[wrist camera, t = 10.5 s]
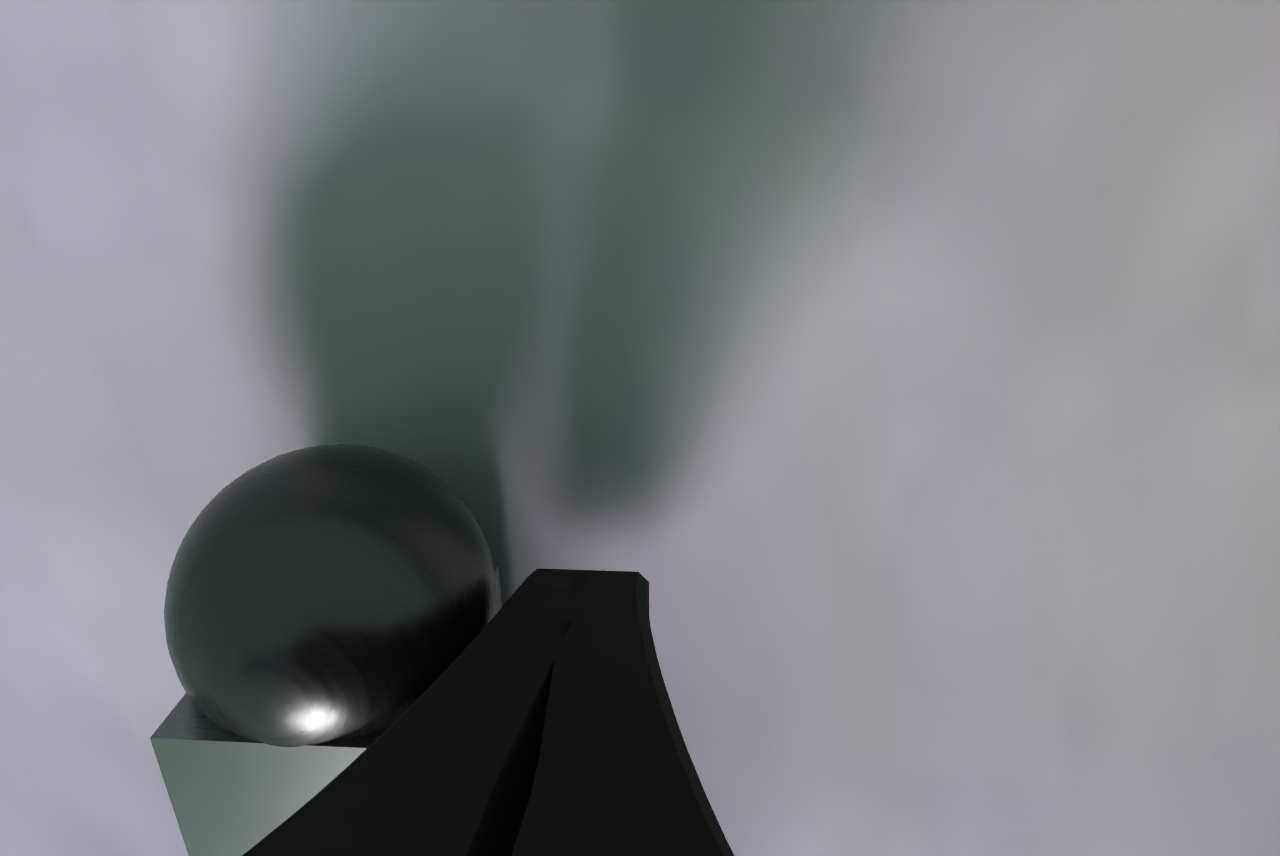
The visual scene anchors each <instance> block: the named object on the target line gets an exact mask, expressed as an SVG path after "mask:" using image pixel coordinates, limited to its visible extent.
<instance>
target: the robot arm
mask: <svg viewBox="0 0 1280 856" xmlns="http://www.w3.org/2000/svg"><path fill="white" fill-rule="evenodd" d="M242 856H734V854H733V852H732V850H731V848H730V846H729V844H728V842H727V840H726V838H725V836H724V834H723V832H722V830H721V827H720V825H719V823H718V821H717V819H716V817H715V814H714V812H713V810H712V808H711V805H710V803H709V801H708V799H707V796H706V794H705V792H704V789H703V787H702V784H701V782H700V780H699V777H698V775H697V772H696V770H695V768H694V765H693V763H692V760H691V758H690V755H689V753H688V750H687V748H686V745H685V742H684V740H683V737H682V734H681V732H680V729H679V726H678V724H677V721H676V717H675V714H674V711H673V708H672V705H671V702H670V699H669V696H668V693H667V690H666V687H665V684H664V680H663V677H662V674H661V670H660V667H659V663H658V659H657V655H656V651H655V646H654V642H653V637H652V633H651V627H650V621H649V582H648V581H647V580H646V579H645V578H644V577H643V576H642V575H641V574H640V573H639V572H623V571H593V570H562V569H536V570H535V571H534V572H533V573H532V574H531V575H530V576H529V577H527V579H526V580H525V581H524V582H523V583H522V584H521V586H520V587H519V588H518V589H517V590H516V591H515V593H514V594H513V595H512V596H511V597H510V598H509V600H508V601H507V602H506V603H505V604H504V606H503V607H502V608H501V609H500V610H499V611H498V613H497V614H496V615H495V616H494V617H493V618H492V619H491V621H490V622H489V623H488V624H487V625H486V626H485V627H484V629H483V630H482V631H481V632H480V633H479V634H478V635H477V636H476V638H475V639H474V640H473V641H472V642H471V643H470V644H469V645H468V647H467V648H466V649H465V650H464V651H463V652H462V653H461V654H460V655H459V656H458V657H457V658H456V659H455V660H454V661H453V663H452V664H451V665H450V666H449V667H448V668H447V669H446V670H445V671H444V672H443V673H442V674H441V675H440V676H439V677H438V678H437V680H436V681H435V682H434V683H433V684H432V685H431V686H430V687H429V688H428V689H427V690H426V691H425V692H424V693H423V694H422V695H421V696H420V697H419V698H418V699H417V700H416V701H415V703H414V704H413V705H412V706H411V707H410V708H409V709H408V710H407V711H405V712H404V713H403V714H402V715H401V716H400V717H399V718H398V719H397V720H396V721H395V722H394V723H393V724H392V725H391V726H390V727H389V728H388V729H387V730H386V731H385V732H383V733H382V734H381V735H380V736H379V737H378V738H377V739H376V740H375V741H374V742H373V743H372V744H371V745H370V746H369V747H368V748H367V749H366V750H365V751H364V752H362V753H361V754H360V755H359V756H358V757H357V758H356V759H355V760H354V761H353V762H352V763H351V764H350V765H349V766H348V767H347V768H346V769H344V770H343V771H342V772H341V773H340V774H339V775H338V776H337V777H335V778H334V779H333V780H332V781H331V782H330V783H329V784H328V785H326V786H325V787H324V788H323V789H322V790H321V791H320V792H318V793H317V794H316V795H315V796H314V797H313V798H312V799H310V800H309V801H308V802H307V803H306V804H305V805H303V806H302V807H301V808H300V809H299V810H297V811H296V812H295V813H294V814H293V815H292V816H290V817H289V818H288V819H287V820H285V821H284V822H283V823H282V824H281V825H279V826H278V827H277V828H276V829H274V830H273V831H272V832H271V833H269V834H268V835H267V836H266V837H265V838H263V839H262V840H261V841H260V842H258V843H257V844H256V845H255V846H254V847H252V848H251V849H250V850H249V851H247V852H246V853H245V854H244V855H242Z"/></svg>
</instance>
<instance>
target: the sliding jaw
mask: <svg viewBox="0 0 1280 856" xmlns="http://www.w3.org/2000/svg"><path fill="white" fill-rule="evenodd" d="M501 608H502V600H501V590H500V580H499V570H498V565H493V563H492V557H491V553H490V550H489V547H488V544H487V541H486V538H485V536H484V534H483V532H482V530H481V528H480V526H479V524H478V522H477V520H476V518H475V516H474V515H473V513H472V512H471V510H470V509H469V507H468V506H467V504H466V503H465V502H464V501H463V500H462V498H461V497H460V496H459V495H458V494H457V493H456V492H455V491H454V490H453V489H452V488H451V487H450V486H449V485H448V484H447V483H446V482H445V481H444V480H442V479H441V478H440V477H438V476H437V475H436V474H434V473H433V472H432V471H430V470H428V469H427V468H425V467H423V466H422V465H420V464H418V463H416V462H415V461H412V460H410V459H408V458H406V457H403V456H401V455H399V454H396V453H392V452H389V451H386V450H383V449H378V448H373V447H368V446H359V445H343V444H339V445H321V446H315V447H309V448H304V449H300V450H296V451H292V452H289V453H286V454H283V455H279V456H277V457H275V458H273V459H271V460H268V461H266V462H264V463H262V464H260V465H258V466H256V467H254V468H252V469H250V470H248V471H247V472H246V473H244V474H243V475H241V476H240V477H238V478H237V479H235V480H234V481H233V482H231V483H230V484H229V485H228V486H226V487H225V488H224V489H223V490H222V491H221V492H220V493H218V494H217V495H216V496H215V497H214V498H213V499H212V500H211V501H210V503H209V504H208V505H207V506H206V507H205V508H204V509H203V510H202V511H201V513H200V514H199V516H198V517H197V518H196V520H195V521H194V523H193V524H192V525H191V527H190V529H189V530H188V532H187V534H186V535H185V537H184V539H183V541H182V543H181V545H180V547H179V549H178V551H177V554H176V556H175V559H174V562H173V565H172V568H171V572H170V575H169V579H168V582H167V590H166V598H165V608H164V618H165V631H166V640H167V645H168V649H169V654H170V657H171V659H172V662H173V665H174V667H175V670H176V673H177V675H178V678H179V680H180V682H181V684H182V686H183V687H184V689H185V691H186V694H185V695H184V696H183V698H182V699H181V700H180V701H179V703H178V704H177V705H176V706H175V708H174V709H173V710H172V711H171V713H170V714H169V715H168V716H167V718H166V719H165V720H164V721H163V723H162V724H161V725H160V726H159V727H158V729H157V730H156V731H155V732H154V734H153V735H152V736H151V737H150V739H151V742H152V745H153V748H154V751H155V754H156V757H157V760H158V763H159V767H160V770H161V773H162V776H163V779H164V782H165V785H166V788H167V791H168V794H169V797H170V800H171V803H172V806H173V809H174V812H175V815H176V818H177V821H178V824H179V827H180V830H181V833H182V836H183V840H184V843H185V846H186V849H187V852H188V855H189V856H242V855H244V854H245V853H246V852H247V851H249V850H250V849H251V848H252V847H254V846H255V845H256V844H257V843H258V842H260V841H261V840H262V839H263V838H265V837H266V836H267V835H268V834H269V833H271V832H272V831H273V830H274V829H276V828H277V827H278V826H279V825H281V824H282V823H283V822H284V821H285V820H287V819H288V818H289V817H290V816H292V815H293V814H294V813H295V812H296V811H297V810H299V809H300V808H301V807H302V806H303V805H305V804H306V803H307V802H308V801H309V800H310V799H312V798H313V797H314V796H315V795H316V794H317V793H318V792H320V791H321V790H322V789H323V788H324V787H325V786H326V785H328V784H329V783H330V782H331V781H332V780H333V779H334V778H335V777H337V776H338V775H339V774H340V773H341V772H342V771H343V770H344V769H346V768H347V767H348V766H349V765H350V764H351V763H352V762H353V761H354V760H355V759H356V758H357V757H358V756H359V755H360V754H361V753H362V752H364V751H365V750H366V749H367V748H368V747H369V746H370V745H371V744H372V743H373V742H374V741H375V740H376V739H377V738H378V737H379V736H380V735H381V734H382V733H383V732H385V731H386V730H387V729H388V728H389V727H390V726H391V725H392V724H393V723H394V722H395V721H396V720H397V719H398V718H399V717H400V716H401V715H402V714H403V713H404V712H405V711H407V710H408V709H409V708H410V707H411V706H412V705H413V704H414V703H415V701H416V700H417V699H418V698H419V697H420V696H421V695H422V694H423V693H424V692H425V691H426V690H427V689H428V688H429V687H430V686H431V685H432V684H433V683H434V682H435V681H436V680H437V678H438V677H439V676H440V675H441V674H442V673H443V672H444V671H445V670H446V669H447V668H448V667H449V666H450V665H451V664H452V663H453V661H454V660H455V659H456V658H457V657H458V656H459V655H460V654H461V653H462V652H463V651H464V650H465V649H466V648H467V647H468V645H469V644H470V643H471V642H472V641H473V640H474V639H475V638H476V636H477V635H478V634H479V633H480V632H481V631H482V630H483V629H484V627H485V626H486V625H487V624H488V623H489V622H490V621H491V619H492V618H493V617H494V616H495V615H496V614H497V613H498V611H499V610H500V609H501Z"/></svg>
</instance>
